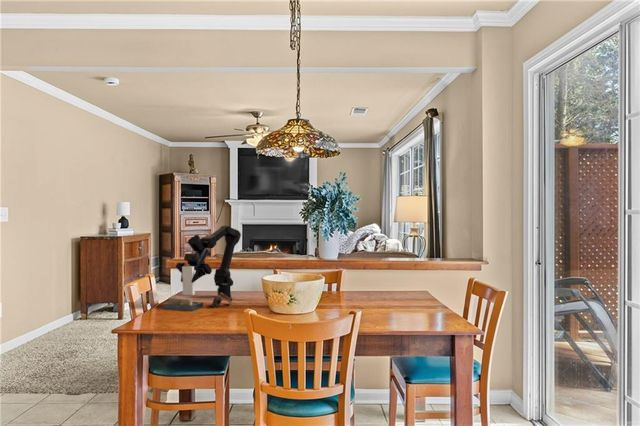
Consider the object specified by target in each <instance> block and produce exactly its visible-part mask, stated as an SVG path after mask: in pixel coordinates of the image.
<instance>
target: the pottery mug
mask: <svg viewBox="0 0 640 426" xmlns="http://www.w3.org/2000/svg"><path fill="white" fill-rule="evenodd" d="M223 300H224V301H226V302H228V303H229V304H228V307H231V306H233V300H234V298H232V296H231V297H229V296H228V295H226V294H224V293H220V294H219V295H217V294H216V296H214V298H213V300H212V302H211V303H212V304H211V307H213V308H220V305H221V303H222V301H223Z"/></svg>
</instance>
